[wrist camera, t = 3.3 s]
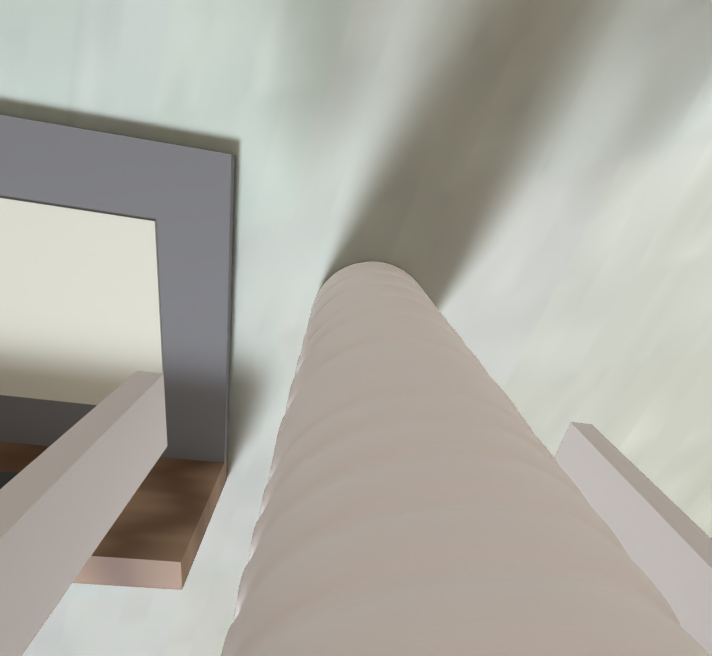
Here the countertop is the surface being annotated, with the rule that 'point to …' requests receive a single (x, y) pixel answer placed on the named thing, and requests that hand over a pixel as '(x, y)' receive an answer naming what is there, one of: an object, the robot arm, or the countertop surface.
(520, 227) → the countertop surface
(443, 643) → the water bottle
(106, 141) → the mat
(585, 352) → the countertop surface
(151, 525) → the corner walls
